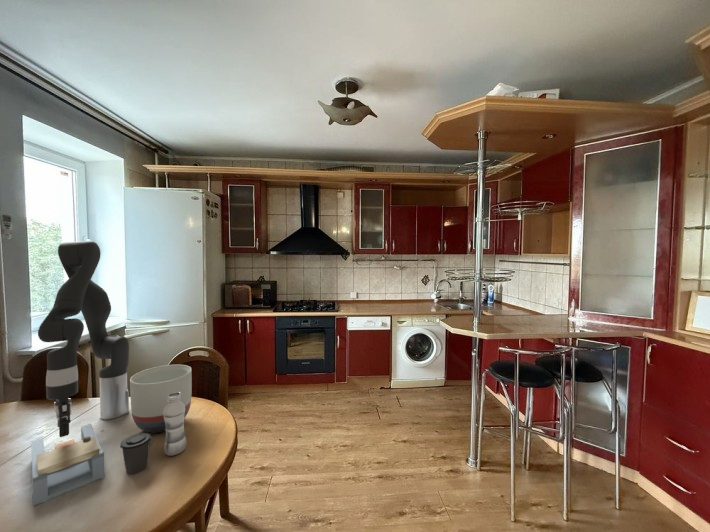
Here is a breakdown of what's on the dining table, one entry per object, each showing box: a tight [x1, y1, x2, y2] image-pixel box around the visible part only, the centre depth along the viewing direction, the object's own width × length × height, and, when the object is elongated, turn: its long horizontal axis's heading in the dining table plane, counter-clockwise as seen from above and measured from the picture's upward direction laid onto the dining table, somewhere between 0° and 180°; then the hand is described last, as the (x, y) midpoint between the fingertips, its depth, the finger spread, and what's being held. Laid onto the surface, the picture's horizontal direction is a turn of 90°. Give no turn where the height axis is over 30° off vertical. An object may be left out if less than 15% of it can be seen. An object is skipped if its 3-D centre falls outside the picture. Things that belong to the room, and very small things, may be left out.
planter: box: [129, 364, 193, 434], centre depth 120 cm, size 20×20×21 cm
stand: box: [30, 423, 106, 506], centre depth 97 cm, size 15×27×7 cm, turn 47°
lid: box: [37, 436, 99, 476], centre depth 92 cm, size 13×10×3 cm
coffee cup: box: [119, 432, 152, 476], centre depth 97 cm, size 8×8×10 cm
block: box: [54, 438, 76, 450], centre depth 100 cm, size 4×4×5 cm
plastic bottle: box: [163, 392, 187, 457], centre depth 105 cm, size 6×7×20 cm
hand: (63, 430), depth 99 cm, fingers open, 8 cm apart
